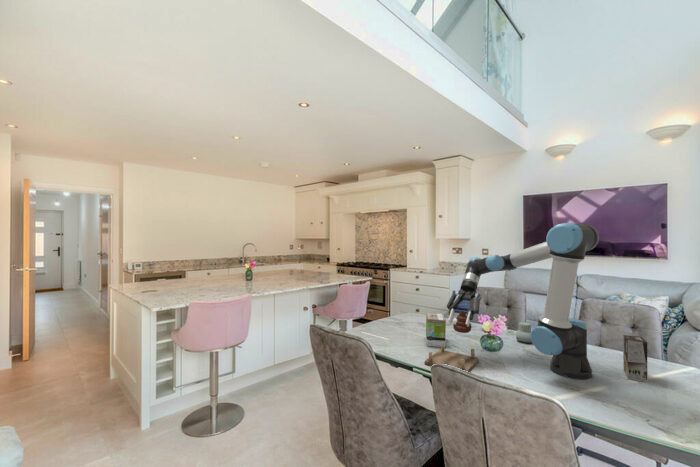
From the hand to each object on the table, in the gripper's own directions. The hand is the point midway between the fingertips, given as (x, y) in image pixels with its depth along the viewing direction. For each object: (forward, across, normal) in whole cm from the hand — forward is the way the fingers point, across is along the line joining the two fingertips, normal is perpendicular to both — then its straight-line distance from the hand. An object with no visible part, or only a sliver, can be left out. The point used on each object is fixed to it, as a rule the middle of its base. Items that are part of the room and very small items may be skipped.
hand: (458, 323), depth 149 cm
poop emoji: (0, 0, -6) cm, 6 cm away
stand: (+15, +2, -11) cm, 18 cm away
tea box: (0, +20, -28) cm, 34 cm away
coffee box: (-8, -64, -34) cm, 73 cm away
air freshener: (-23, -19, -51) cm, 59 cm away
